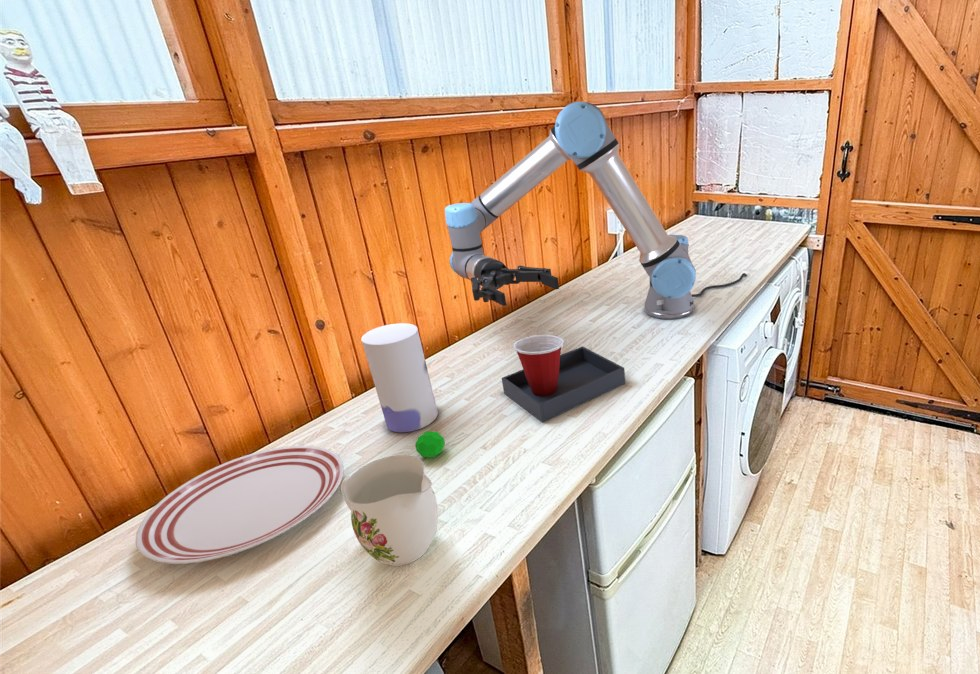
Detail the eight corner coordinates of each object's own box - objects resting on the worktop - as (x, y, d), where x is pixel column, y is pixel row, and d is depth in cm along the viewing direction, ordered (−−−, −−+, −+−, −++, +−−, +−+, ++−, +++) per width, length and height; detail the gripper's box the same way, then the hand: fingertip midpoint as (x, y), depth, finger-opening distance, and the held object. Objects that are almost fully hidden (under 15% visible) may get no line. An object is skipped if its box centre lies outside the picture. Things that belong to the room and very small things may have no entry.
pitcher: (386, 506, 85) (364, 437, 80) (474, 535, 79) (457, 463, 73) (327, 556, 76) (296, 483, 70) (420, 594, 70) (396, 516, 64)
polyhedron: (430, 466, 94) (425, 444, 92) (412, 458, 97) (407, 437, 95) (452, 450, 98) (447, 430, 96) (434, 443, 101) (429, 423, 99)
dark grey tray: (584, 360, 130) (582, 346, 129) (625, 383, 119) (624, 367, 118) (504, 393, 117) (501, 377, 115) (542, 422, 106) (539, 405, 104)
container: (448, 410, 111) (428, 325, 103) (415, 436, 103) (390, 346, 95) (410, 403, 115) (388, 320, 106) (375, 428, 106) (348, 340, 98)
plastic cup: (575, 379, 121) (570, 332, 116) (560, 403, 111) (554, 353, 106) (531, 376, 123) (524, 330, 118) (512, 400, 113) (504, 351, 108)
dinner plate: (294, 441, 103) (289, 427, 101) (381, 485, 90) (376, 470, 89) (115, 535, 82) (104, 519, 80) (194, 610, 69) (184, 592, 67)
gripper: (532, 274, 139) (578, 292, 125) (442, 299, 124) (482, 323, 110) (529, 247, 136) (575, 262, 122) (435, 269, 121) (476, 290, 107)
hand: (531, 291), depth 116 cm, fingers open, 13 cm apart
